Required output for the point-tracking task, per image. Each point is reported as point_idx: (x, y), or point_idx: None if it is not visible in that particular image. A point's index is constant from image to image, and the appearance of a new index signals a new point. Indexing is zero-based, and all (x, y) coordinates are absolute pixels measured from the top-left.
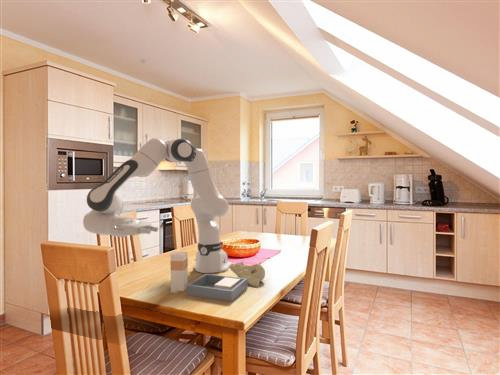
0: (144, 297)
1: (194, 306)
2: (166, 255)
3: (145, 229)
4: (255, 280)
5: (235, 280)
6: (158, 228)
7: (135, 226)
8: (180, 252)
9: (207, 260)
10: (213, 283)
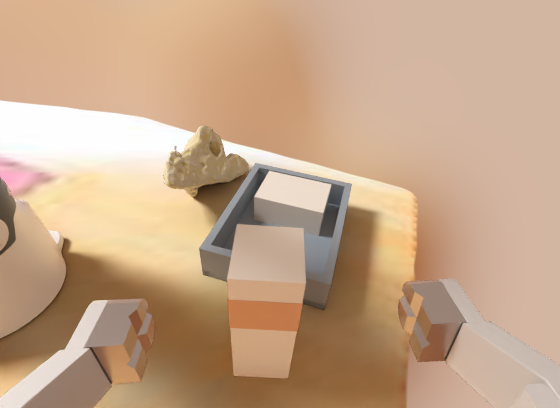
0: None
1: (382, 275)
2: None
3: (494, 329)
4: (238, 160)
5: (281, 177)
6: (102, 302)
7: None
8: (248, 249)
9: (27, 256)
10: (223, 246)
